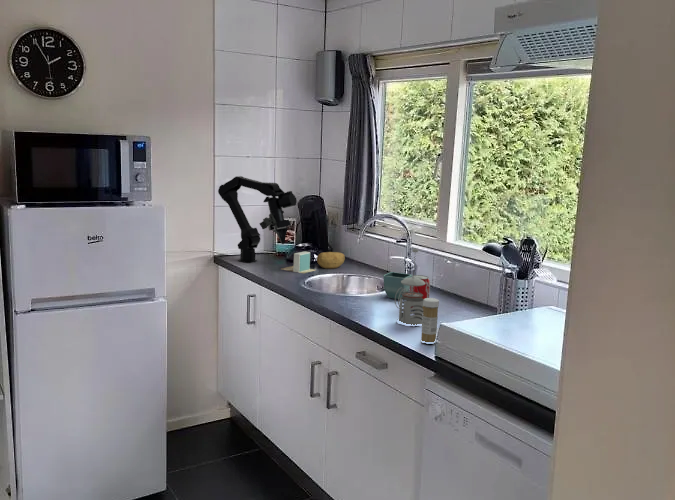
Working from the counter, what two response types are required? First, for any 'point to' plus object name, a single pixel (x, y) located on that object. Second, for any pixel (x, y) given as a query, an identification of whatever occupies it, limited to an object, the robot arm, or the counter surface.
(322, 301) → the counter surface
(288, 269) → the board
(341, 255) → the potato
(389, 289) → the flower pot
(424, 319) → the sprinkles bottle
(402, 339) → the counter surface
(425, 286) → the soda can
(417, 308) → the french press
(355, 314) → the counter surface
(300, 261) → the tile
